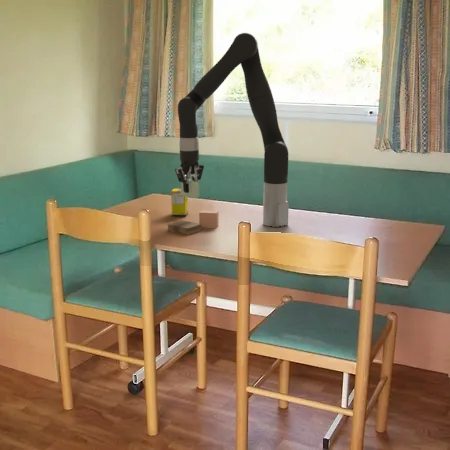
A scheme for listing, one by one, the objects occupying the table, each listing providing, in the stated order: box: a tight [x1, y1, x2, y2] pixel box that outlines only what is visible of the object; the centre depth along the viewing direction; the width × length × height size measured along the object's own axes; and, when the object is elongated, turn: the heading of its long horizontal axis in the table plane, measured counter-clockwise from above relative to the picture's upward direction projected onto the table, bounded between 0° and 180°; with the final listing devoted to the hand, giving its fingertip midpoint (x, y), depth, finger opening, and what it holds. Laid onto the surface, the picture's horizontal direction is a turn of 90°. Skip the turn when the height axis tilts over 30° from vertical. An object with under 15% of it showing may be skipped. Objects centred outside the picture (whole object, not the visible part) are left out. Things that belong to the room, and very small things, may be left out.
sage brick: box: [180, 179, 200, 199], centre depth 254 cm, size 7×4×6 cm, turn 45°
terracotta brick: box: [198, 209, 219, 229], centre depth 250 cm, size 7×4×6 cm, turn 80°
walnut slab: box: [167, 219, 202, 236], centre depth 245 cm, size 10×8×3 cm
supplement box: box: [170, 187, 189, 217], centre depth 267 cm, size 6×6×11 cm
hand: (190, 191), depth 254 cm, fingers closed on sage brick, 3 cm apart
